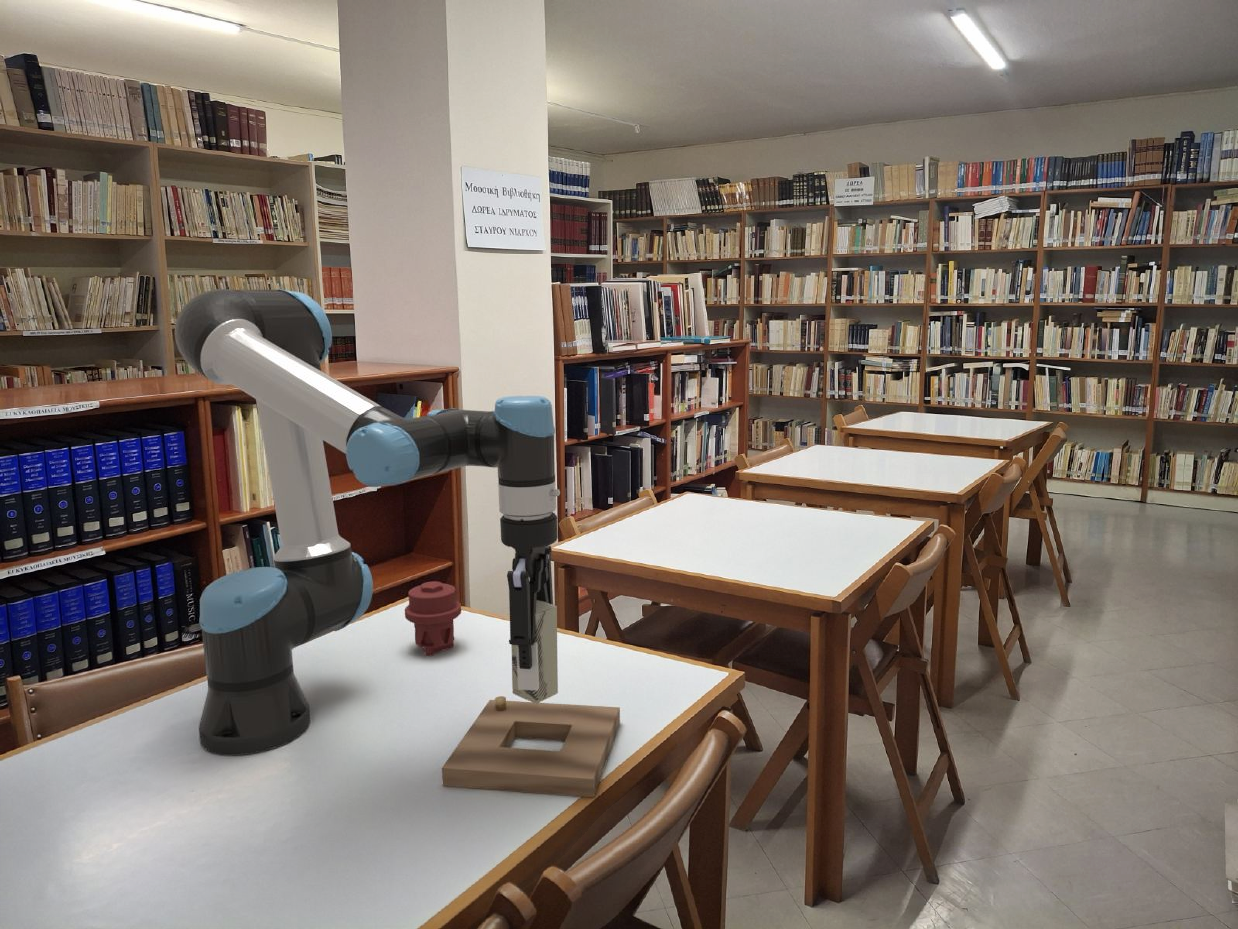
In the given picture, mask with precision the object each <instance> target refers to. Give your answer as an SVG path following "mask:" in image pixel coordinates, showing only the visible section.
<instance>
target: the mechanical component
mask: <svg viewBox="0 0 1238 929" xmlns="http://www.w3.org/2000/svg"><path fill="white" fill-rule="evenodd" d="M456 591H457V590H456V587H455V586H454V585H451V584H448V583H442V582H440V581H436V580H435V581H434V580H433V581H427V582H423V583H422V584H421V585H417V586H415V587H413V588H411V589H410V590H408V605H407V606H406V607H405V608H404V618H405V619H406V620H407V621H408V622H410V623H412V624H414V626H413V627H414V642H415V645H416V646H417V647H419V648H423V649H424V654H425V656H428V657H431V656H433V655H435V654H437V653H439V652H442V651H445V650H448V649H452V648H453V647H455V646H454V644H455V643H454V641H455V635H454V634H455V631H454V630H455V626H454V624H455V623H454V620H455V619H457V618H458V617H459V616H460V615H461V614H462V603H460V602H459V600H457V595H456V594H457V593H456Z"/></svg>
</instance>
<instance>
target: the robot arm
mask: <svg viewBox="0 0 1238 929" xmlns="http://www.w3.org/2000/svg"><path fill="white" fill-rule="evenodd" d="M175 321H176V322H175V324H174V338H175V339H174V340H175V344H176V346H177V349H178V351H179V353H180V355H181V356H182V358H183V359H184V361H185V362H186V363H187V364H188V365H189V366H190V367H191V368H192V369H193V370H195V371H196V372H197V373H199V375H202V376H203V377H204V378H206V379H208V380H210V381H211V382H213V383H215V384H218V385H222V386H228V385H229V386H230V385H232V386H234V387H236V388H238V390H240V391H242V392H244V393H245V394H247V395H249V396H251V397H252V398H253V399H255V401H256V406H257V407H256V408H257V412H258V414H257V415H258V417H259V418H258V419H259V425H260V430H261V435H262V441H263V446H264V454H265V458H266V463H267V470H268V476H269V482H270V486H271V493H272V498H273V504H274V508H275V514H276V521H277V526H278V533H279V537H280V543H281V545H280V548H278V550H277V552H276V553H275V554H274V556H273V564H274V567H273V566H272V567H271V566H259V567H258V566H257V567H250V568H249V569H246V570H243V569H241V570H238V571H234V572H231V573H228V574H225V575H223V576H221V577H219V578H217V579H216V580H213V581H212V582H211V583H209V585H207V586H206V587H205V589H204V590H203V591H202V593H201V596H200V598H199V626H200V627H201V628H200V629H201V635H202V636H201V637H202V645H203V652H204V662H205V663H204V664H205V670H206V679H207V692H206V696H205V700H204V704H203V708H202V714H201V717H200V720H199V724H198V731H199V732H198V733H199V741H200V742H199V743H200V746H201V747H203V749H204V750H206V751H208V752H211V753H214V754H218V755H227V756H228V755H229V756H236V755H237V756H238V755H249V754H250V755H251V754H256V753H260V752H264V751H265V752H266V751H269V750H271V749H275V748H277V747H280V746H284V745H285V744H287V743H289V742H292V741H293V740H295V739H297V738H298V737H300V736H301V735H302V734H304V733H305V732H306V731H307V729H308V728H309V727H310V724H311V712H310V711H311V709H310V704H309V702H308V700H307V699H306V696H305V694H304V692H303V690H302V688H301V686H300V682H299V681H298V679H297V677H296V675H295V671H294V663H293V662H294V661H293V659H294V658H293V650H294V649H296V648H298V647H299V646H302V645H305V644H307V643H309V642H311V641H314V640H316V639H318V638H322V637H324V636H325V635H327V634H331V633H333V632H337V631H340V630H343V629H345V628H346V627H348V625H350V624H352V623H354V622H356V621H358V620H359V619H360V618H361V617H363V616H364V614H365V613H366V611H367V610H368V608H369V607H370V604H371V601H372V598H373V592H374V583H373V577H372V576H373V575H372V574H371V573H372V572H371V570H370V568H369V566H368V564H365V563H364V559H363V557H362V556H360V555H359V554H358V553H356V552H353V551H352V548H351V547H352V546H351V542H350V541H348V540H346V539H345V538H343V537H342V536H341V535H340V534H339V530H338V525H337V524H338V523H337V519H336V518H337V517H336V511H335V506H334V499H333V495H332V488H331V481H330V476H329V471H328V465H327V460H326V459H327V458H326V453H325V446H324V442H326V443H327V444H328V445H330V446H332V447H334V448H336V449H337V450H338V451H340V452H342V453H344V454H345V456H346V457H345V458H346V461H347V466H348V468H349V470H350V471H352V472H353V473H354V475H355V476H354V477H355V478H356V480H357V481H359V482H360V483H362V484H364V485H365V486H368V487H372V488H379V487H386V486H398V485H401V484H404V483H406V482H410V481H413V480H417V479H420V478H423V477H427V476H431V475H433V474H434V475H436V474H439V473H443V472H447V471H451V470H455V469H459V468H462V467H486V468H497V478H498V480H497V481H498V483H497V485H498V486H497V487H498V507H499V510H498V511H499V512H500V514H502V516H501V517H500V519H499V520H500V521H499V522H500V541H501V543H502V544H503V545H504V546H506V547H508V548H512V549H513V550H514V558H513V559H512V562H511V563H512V564H511V569H512V570H507V574H506V578H507V583H508V584H507V585H508V598H509V603H508V604H509V607H508V608H509V637H510V638H509V639H508V643H509V645H511V646H512V645H516V653H517V676H518V689H520V690H538V689H539V669H538V644H537V642H535V622H536V621H535V614H536V600H539V601H543V602H546V603H549V604H552V605H554V599H553V598H554V596H553V594H554V593H553V577H552V546H551V545H554V544H555V543H556V542H557V541H558V536H559V534H558V516H557V514H555V511H556V510H557V497H559V496H560V495H561V491H560V489H559V488H556V471H555V470H556V466H555V463H556V462H555V434H556V428H555V426H554V424H555V423H554V414H553V405H552V402H551V401H550V400H549V399H548V398H547V397H546V396H545V397H544V396H540V395H516V396H515V395H514V396H512V395H511V396H503V397H500V398H498V399H497V400H496V401H495V403H494V410H491V411H487V410H486V411H485V410H472V409H459V408H454V407H451V408H447V409H446V408H442V409H433V410H430V411H429V412H428V413H426V414H425V415H423V416H419V417H411V418H407V417H406V418H405V417H402V416H400V415H399V414H397V413H395V412H392V411H391V410H389V409H387V408H385V407H384V406H382V405H380V404H378V403H377V402H375V401H373V400H371V399H370V398H368V397H367V396H364V395H362V394H361V393H359V392H358V391H356V390H354V389H352V388H351V387H349V386H347V385H346V384H343V383H342V382H341V381H338V380H337V379H335V378H333V377H331V376H330V375H328V374H326V373H324V371H322V368H321V362H323V361H325V359H326V358H327V356H328V355H329V353H330V350H329V348H331V347H332V344H333V335H332V327H331V323H330V321H329V318H328V317H327V314H326V312H325V311H324V309H323V308H322V307H321V305H320V304H319V303H318V302H317V301H316V300H314V299H313V298H312V297H311V296H309V295H307V294H306V293H304V292H299V291H293V290H285V289H281V288H279V289H229V288H227V289H226V288H221V289H220V288H216V289H215V288H214V289H212V290H208V291H204V292H201V293H199V294H197V295H196V296H193V298H191V299H189V301H187V302H185V304H184V306H183V307H182V308H181V310H180V311H179V313H178V315H177V318H176V320H175Z"/></svg>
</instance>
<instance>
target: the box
mask: <svg viewBox="0 0 1238 929" xmlns="http://www.w3.org/2000/svg"><path fill="white" fill-rule="evenodd" d="M535 621H536V622H535V642H537V644H538V669H539V689H538V690H520V689H518V676H517V653H516V645H511V682H512V683H511V685H512V686H511V687H512V694H513V695H515V696H518V697H519V698H521V699H524V700H525V701H526V700H527V701H528V702H533V703H542V702H543V701H545V700H547V699H549V698H551V697H553V696H555V695H557V694H559V685H558V683H559V682H558V681H559V677H558V606H557V605H555V604H553V605H552V604H549V603H546V602H543V601H539V600H536V614H535Z"/></svg>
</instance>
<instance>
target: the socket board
mask: <svg viewBox="0 0 1238 929" xmlns="http://www.w3.org/2000/svg"><path fill="white" fill-rule="evenodd" d="M620 708H621V707H615V706H602V705H601V706H600V705H585V704H584V705H583V704H568V703H566V704H565V703H555V702H554V703H553V702H551V703H550V702H539V703H533V702H531V701H519V700H518V701H517V700H516V701H515V700H507V697H506V696H503V695H502V696H496V697H495V698H494V699H489V700H488V702H487V703H486V704H485V706H484V707H483V709H482V710H481V712H480V713H479V714H478V716H477V717H476V718H475V720H474V721H473V723H472V725H471V726H470V727H469V728H468V730H467V732H466V733H465V734H464V736H463V737H462V739H461V740H460V741H459V742H458V744H457V746H456V747H455V748H454V750H453V751H452V753H451V754H450V756H449V757H448V759H447V760H446V761H445V762H444V764H443V765H442V767H441V779H442V786H444V787H453V788H454V787H456V788H457V787H458V788H465V789H466V788H467V789H469V788H471V789H483V790H491V791H492V790H494V791H504V792H505V791H506V792H519V793H533V794H544V795H545V794H547V795H557V796H558V795H560V796H570V797H571V796H572V797H583V798H595V795H596V793H597V789H598V787H599V784H600V781H601V778H602V775H603V773H604V770H605V768H606V765H607V761H608V758H609V755H610V752H611V750H612V748H613V745H614V742H615V738H616V736H617V733H618V731H619V727H620V725H621V715H620V714H621V709H620ZM515 738H520V739H538V740H548V741H549V740H551V741H553V740H554V741H564V742H563V745H562V747H561V748H560V750H549V749H547V750H546V749H537V748H536V749H533V748H521V747H518V748H517V747H511V746H512V744H513V742H514V741H515Z"/></svg>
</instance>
